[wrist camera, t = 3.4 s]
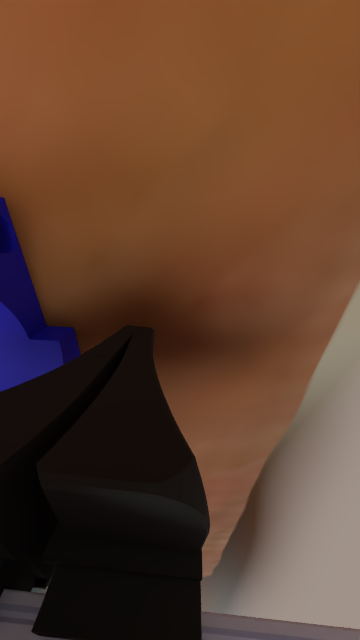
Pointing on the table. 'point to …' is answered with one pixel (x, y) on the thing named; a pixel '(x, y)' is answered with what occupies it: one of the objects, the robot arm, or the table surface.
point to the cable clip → (25, 319)
